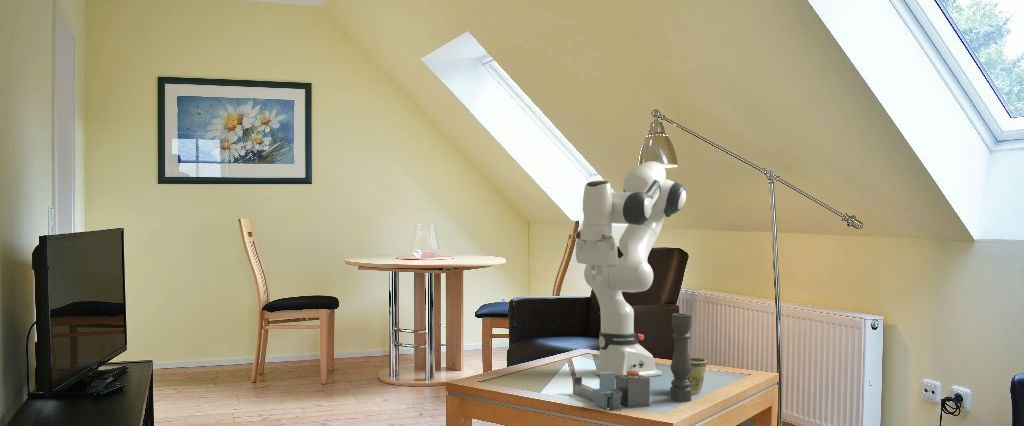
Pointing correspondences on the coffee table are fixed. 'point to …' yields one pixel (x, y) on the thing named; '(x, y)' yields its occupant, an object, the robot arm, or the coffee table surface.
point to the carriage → (605, 388)
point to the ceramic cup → (697, 374)
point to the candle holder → (681, 358)
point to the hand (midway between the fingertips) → (596, 280)
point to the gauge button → (632, 374)
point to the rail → (588, 394)
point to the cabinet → (633, 391)
